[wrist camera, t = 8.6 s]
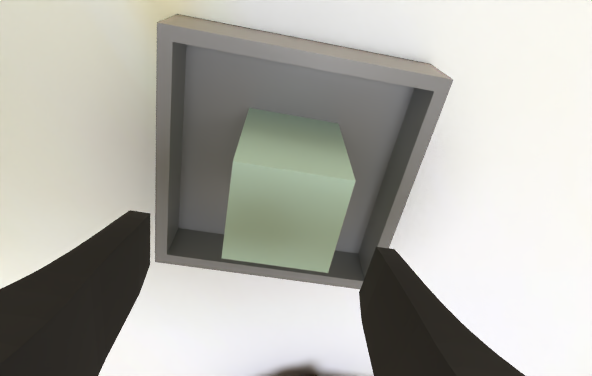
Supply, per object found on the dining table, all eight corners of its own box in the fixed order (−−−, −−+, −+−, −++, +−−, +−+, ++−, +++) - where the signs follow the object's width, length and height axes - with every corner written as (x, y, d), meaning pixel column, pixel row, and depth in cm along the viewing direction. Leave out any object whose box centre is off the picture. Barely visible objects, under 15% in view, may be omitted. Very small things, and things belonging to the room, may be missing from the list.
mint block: (238, 186, 21) (221, 258, 16) (249, 107, 19) (232, 161, 14) (319, 198, 22) (327, 272, 16) (338, 123, 19) (355, 181, 14)
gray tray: (170, 228, 23) (154, 261, 21) (177, 14, 17) (157, 22, 15) (363, 256, 24) (372, 290, 22) (430, 64, 19) (453, 79, 16)
